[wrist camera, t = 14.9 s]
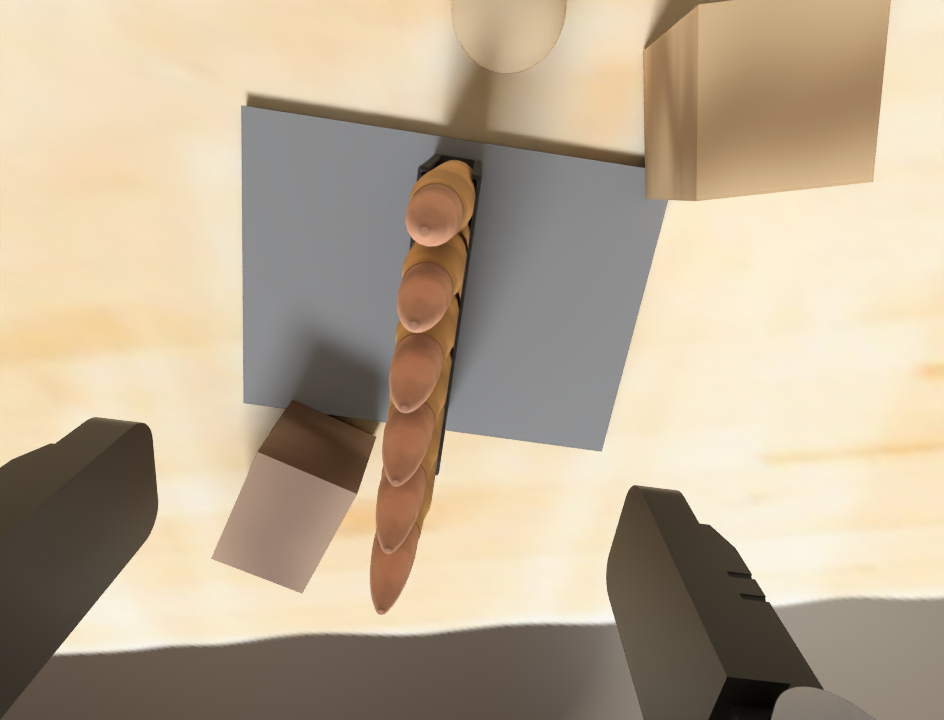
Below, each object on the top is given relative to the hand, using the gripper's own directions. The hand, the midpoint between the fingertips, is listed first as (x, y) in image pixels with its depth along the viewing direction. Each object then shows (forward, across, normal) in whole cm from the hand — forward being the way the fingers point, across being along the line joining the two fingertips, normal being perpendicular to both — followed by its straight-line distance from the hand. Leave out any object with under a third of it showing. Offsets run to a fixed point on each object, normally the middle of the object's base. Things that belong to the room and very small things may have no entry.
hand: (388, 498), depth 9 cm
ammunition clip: (+14, 0, 0) cm, 14 cm away
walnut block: (+14, +5, +9) cm, 18 cm away
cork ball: (+13, -1, -10) cm, 16 cm away
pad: (+14, 0, 0) cm, 14 cm away
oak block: (+14, -9, -8) cm, 18 cm away
